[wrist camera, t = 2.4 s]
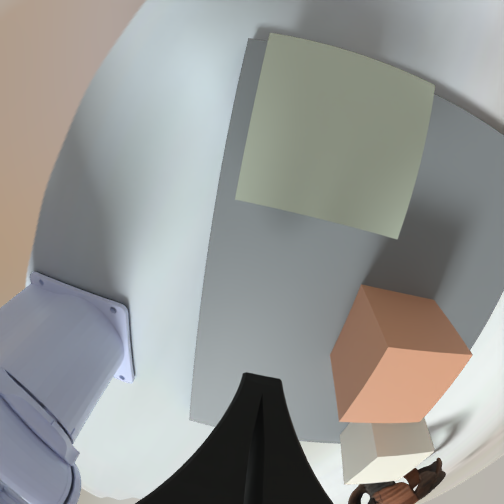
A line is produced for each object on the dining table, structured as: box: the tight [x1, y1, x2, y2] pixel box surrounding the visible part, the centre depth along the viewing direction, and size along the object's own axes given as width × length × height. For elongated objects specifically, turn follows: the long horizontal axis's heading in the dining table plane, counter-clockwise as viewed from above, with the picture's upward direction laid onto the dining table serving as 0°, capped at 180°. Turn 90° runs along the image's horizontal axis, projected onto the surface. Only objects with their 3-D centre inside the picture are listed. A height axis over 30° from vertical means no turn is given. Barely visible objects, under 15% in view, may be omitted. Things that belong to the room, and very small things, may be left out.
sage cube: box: [235, 33, 435, 239], centre depth 9 cm, size 5×5×5 cm
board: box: [189, 38, 504, 444], centre depth 15 cm, size 19×26×1 cm
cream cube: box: [340, 418, 435, 485], centre depth 16 cm, size 5×5×5 cm
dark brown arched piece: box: [348, 458, 446, 504], centre depth 21 cm, size 12×10×8 cm
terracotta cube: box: [330, 284, 472, 423], centre depth 13 cm, size 5×5×5 cm
